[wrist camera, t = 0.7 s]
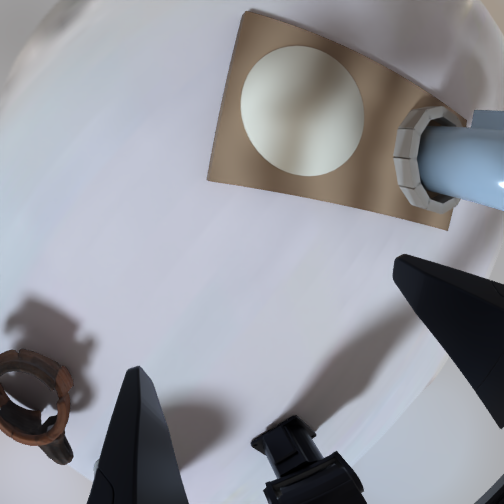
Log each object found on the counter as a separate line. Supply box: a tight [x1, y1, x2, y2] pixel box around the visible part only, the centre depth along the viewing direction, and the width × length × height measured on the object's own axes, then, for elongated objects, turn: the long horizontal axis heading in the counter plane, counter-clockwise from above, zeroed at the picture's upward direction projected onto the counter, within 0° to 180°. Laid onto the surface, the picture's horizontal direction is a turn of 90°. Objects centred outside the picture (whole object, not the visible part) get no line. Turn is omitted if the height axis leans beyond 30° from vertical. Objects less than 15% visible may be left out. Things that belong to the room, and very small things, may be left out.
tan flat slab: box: [207, 11, 467, 231], centre depth 22 cm, size 26×13×3 cm, turn 79°
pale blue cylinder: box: [417, 110, 504, 211], centre depth 19 cm, size 9×6×12 cm
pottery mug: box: [0, 349, 74, 465], centre depth 19 cm, size 12×10×8 cm
